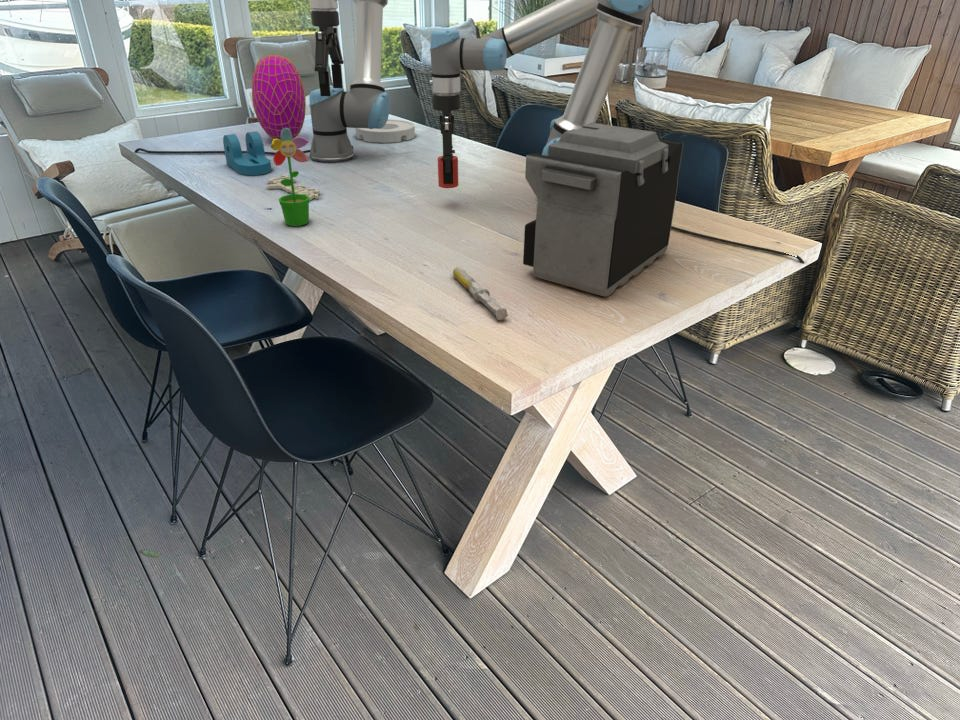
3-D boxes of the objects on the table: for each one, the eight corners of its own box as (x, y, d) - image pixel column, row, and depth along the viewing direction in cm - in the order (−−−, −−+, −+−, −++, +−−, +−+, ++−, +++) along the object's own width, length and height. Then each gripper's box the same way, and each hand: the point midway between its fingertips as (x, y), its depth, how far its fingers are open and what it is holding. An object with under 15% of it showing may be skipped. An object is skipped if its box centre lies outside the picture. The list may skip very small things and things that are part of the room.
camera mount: (227, 164, 233) (221, 132, 227) (257, 160, 238) (252, 129, 233) (244, 176, 220) (239, 143, 215) (276, 172, 225) (271, 139, 220)
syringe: (449, 274, 155) (449, 263, 153) (465, 272, 156) (464, 260, 154) (490, 323, 135) (491, 310, 133) (508, 319, 136) (508, 307, 134)
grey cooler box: (592, 232, 179) (603, 112, 164) (672, 251, 168) (693, 125, 153) (515, 277, 153) (520, 140, 138) (603, 303, 142) (620, 157, 127)
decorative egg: (293, 132, 276) (283, 50, 261) (319, 140, 264) (310, 56, 249) (249, 139, 265) (236, 54, 250) (273, 148, 253) (261, 60, 238)
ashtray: (362, 128, 283) (361, 118, 281) (418, 129, 282) (417, 119, 280) (351, 142, 263) (350, 131, 261) (411, 143, 262) (411, 132, 260)
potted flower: (284, 229, 179) (270, 130, 166) (277, 220, 185) (263, 124, 172) (319, 224, 183) (308, 127, 170) (311, 215, 188) (300, 121, 176)
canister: (444, 181, 198) (443, 154, 194) (461, 184, 196) (461, 156, 192) (434, 186, 194) (433, 158, 190) (452, 189, 191) (451, 161, 187)
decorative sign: (256, 179, 214) (285, 174, 220) (256, 182, 215) (285, 177, 220) (297, 199, 197) (327, 193, 203) (297, 203, 198) (328, 196, 203)
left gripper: (325, 13, 178) (333, 99, 188) (348, 7, 199) (354, 85, 210) (297, 13, 178) (306, 99, 189) (323, 7, 199) (330, 84, 210)
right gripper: (433, 87, 190) (436, 171, 202) (430, 99, 174) (434, 190, 186) (460, 87, 190) (461, 171, 202) (460, 99, 174) (461, 189, 186)
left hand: (332, 92), depth 199 cm, fingers open, 13 cm apart
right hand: (448, 180), depth 194 cm, fingers closed on canister, 6 cm apart
